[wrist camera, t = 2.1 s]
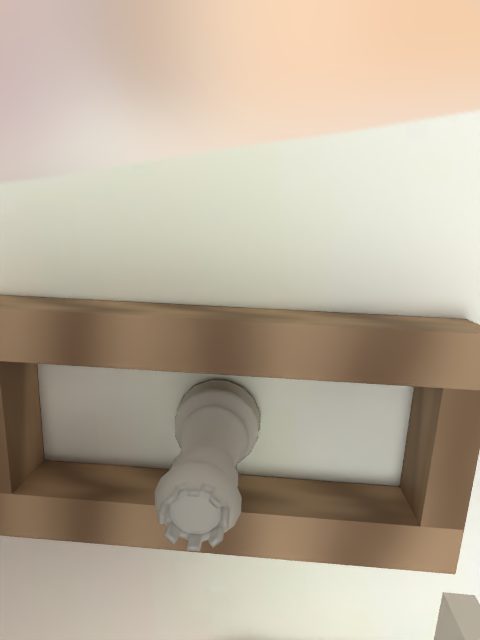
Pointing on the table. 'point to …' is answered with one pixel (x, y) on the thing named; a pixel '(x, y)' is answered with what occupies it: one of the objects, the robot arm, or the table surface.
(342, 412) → the table surface
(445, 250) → the table surface
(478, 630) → the robot arm
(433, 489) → the slot holder
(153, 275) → the table surface
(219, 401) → the rook chess piece
